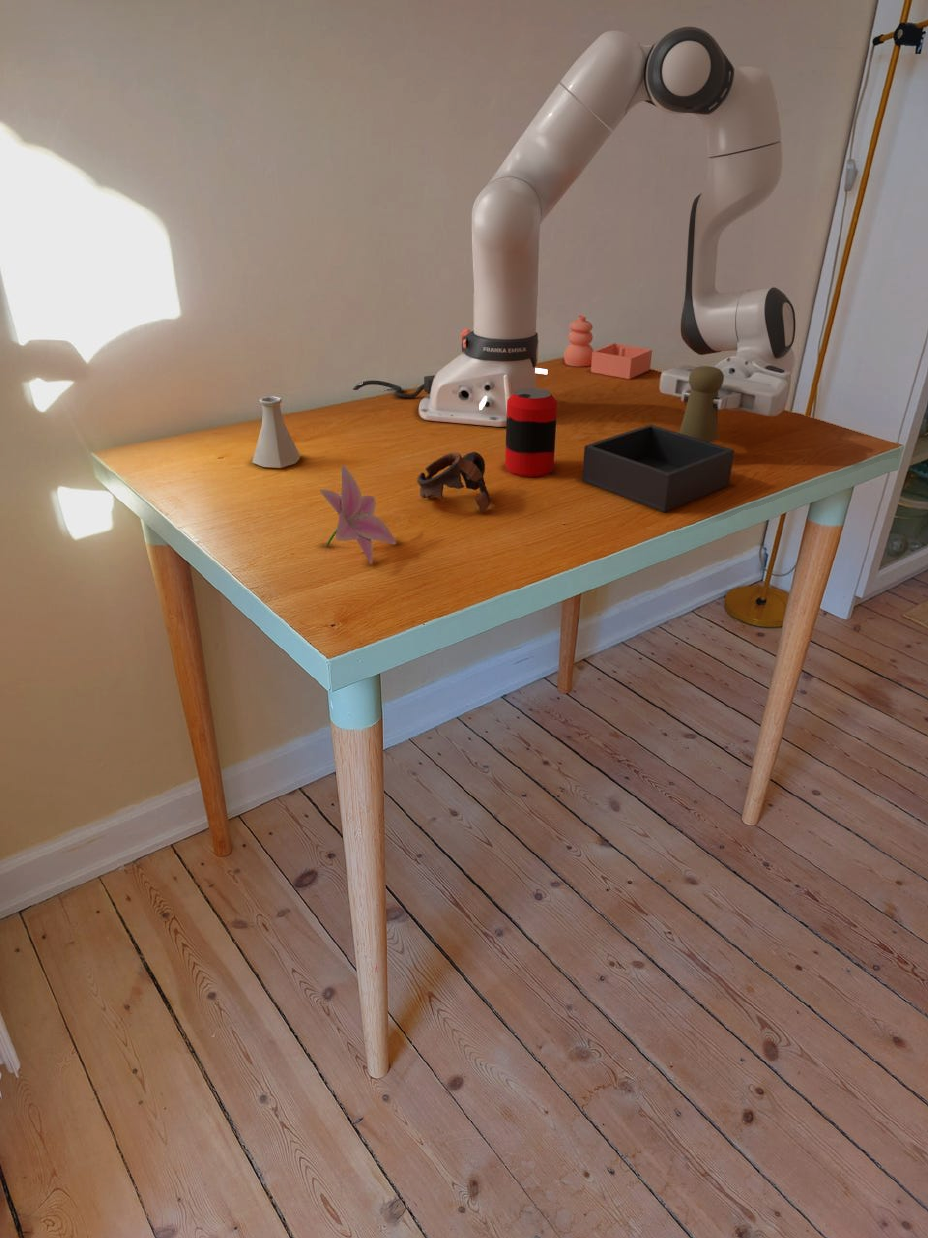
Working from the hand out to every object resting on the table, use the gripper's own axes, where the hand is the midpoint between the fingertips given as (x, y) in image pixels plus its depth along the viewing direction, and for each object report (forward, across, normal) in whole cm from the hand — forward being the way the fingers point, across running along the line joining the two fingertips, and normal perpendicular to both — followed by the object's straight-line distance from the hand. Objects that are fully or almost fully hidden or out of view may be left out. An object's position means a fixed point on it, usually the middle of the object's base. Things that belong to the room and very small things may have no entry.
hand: (700, 400), depth 140 cm
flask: (+43, -51, +10) cm, 67 cm away
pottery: (-39, -41, +10) cm, 57 cm away
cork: (-1, 0, +6) cm, 6 cm away
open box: (+13, 0, +10) cm, 16 cm away
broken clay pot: (+38, -18, +10) cm, 43 cm away
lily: (+58, -18, +10) cm, 62 cm away
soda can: (+20, -18, +10) cm, 29 cm away
